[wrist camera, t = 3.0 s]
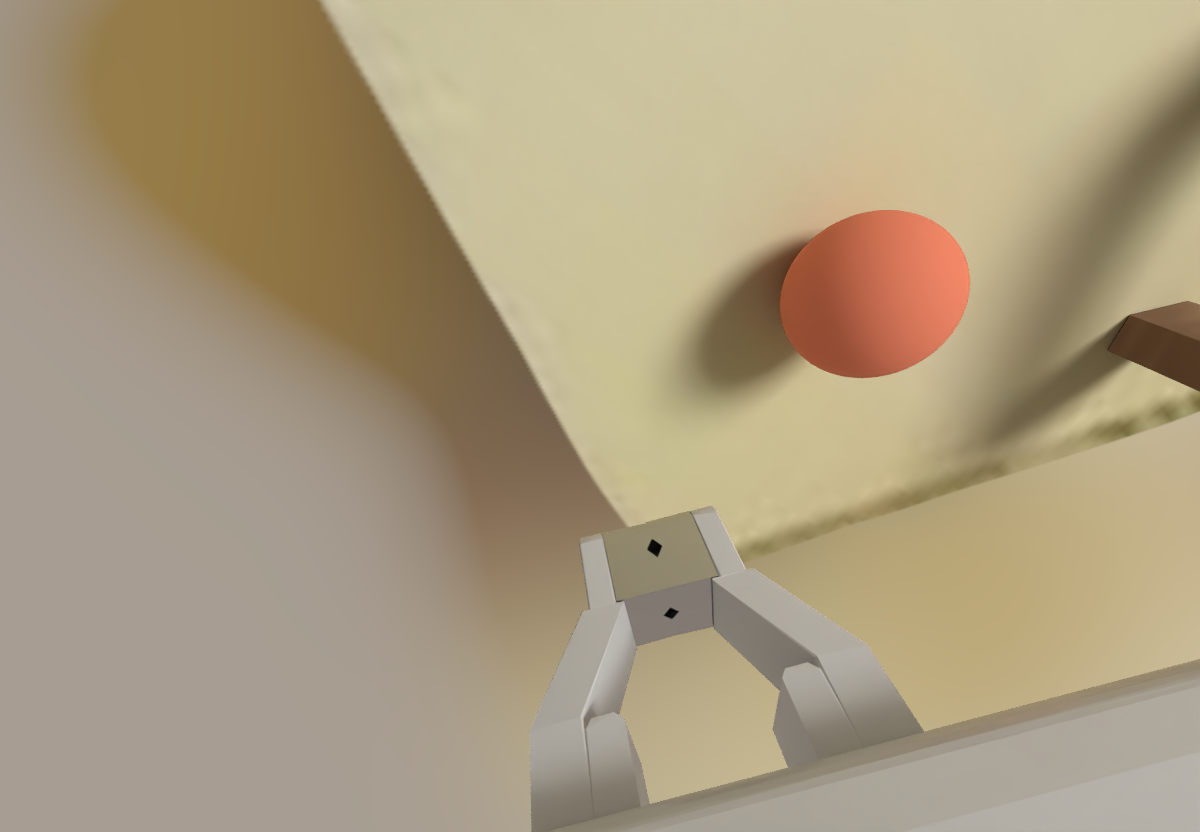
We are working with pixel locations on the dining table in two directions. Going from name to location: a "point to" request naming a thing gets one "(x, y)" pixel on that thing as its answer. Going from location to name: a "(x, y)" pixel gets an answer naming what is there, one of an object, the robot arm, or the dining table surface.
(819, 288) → the ball
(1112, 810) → the robot arm
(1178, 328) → the bridge
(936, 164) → the dining table surface
